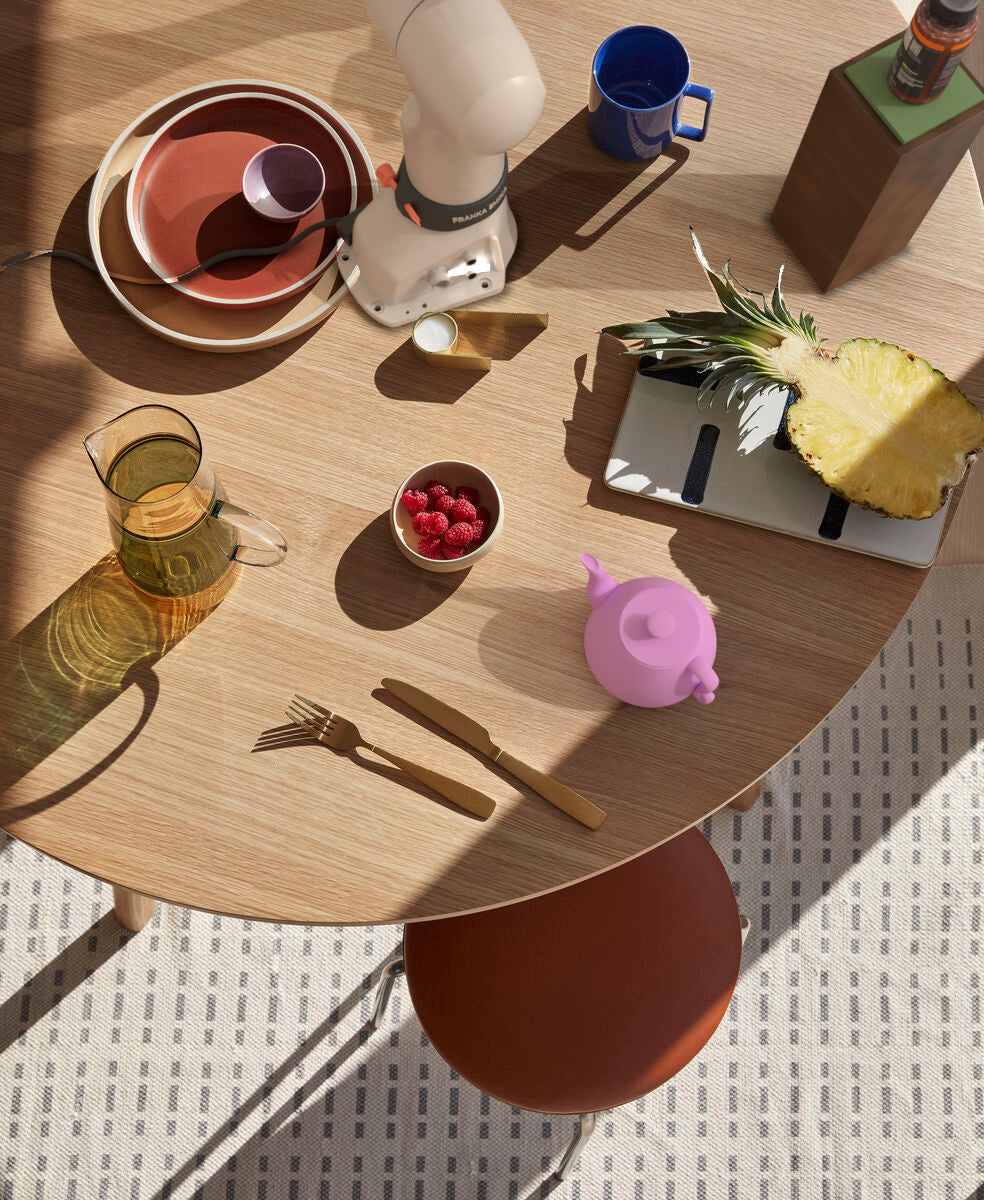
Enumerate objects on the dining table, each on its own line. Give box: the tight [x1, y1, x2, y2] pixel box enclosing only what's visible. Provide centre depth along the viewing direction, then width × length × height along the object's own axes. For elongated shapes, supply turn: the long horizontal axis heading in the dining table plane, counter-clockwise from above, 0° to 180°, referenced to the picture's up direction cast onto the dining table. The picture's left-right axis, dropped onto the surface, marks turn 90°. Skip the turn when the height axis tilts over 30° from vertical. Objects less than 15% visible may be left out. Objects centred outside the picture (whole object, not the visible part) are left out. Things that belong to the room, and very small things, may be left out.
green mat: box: [844, 38, 984, 145], centre depth 111 cm, size 10×10×1 cm
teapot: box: [579, 551, 720, 709], centre depth 117 cm, size 20×14×12 cm
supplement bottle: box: [888, 0, 981, 104], centre depth 105 cm, size 6×6×11 cm
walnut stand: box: [768, 27, 984, 295], centre depth 124 cm, size 12×12×26 cm
